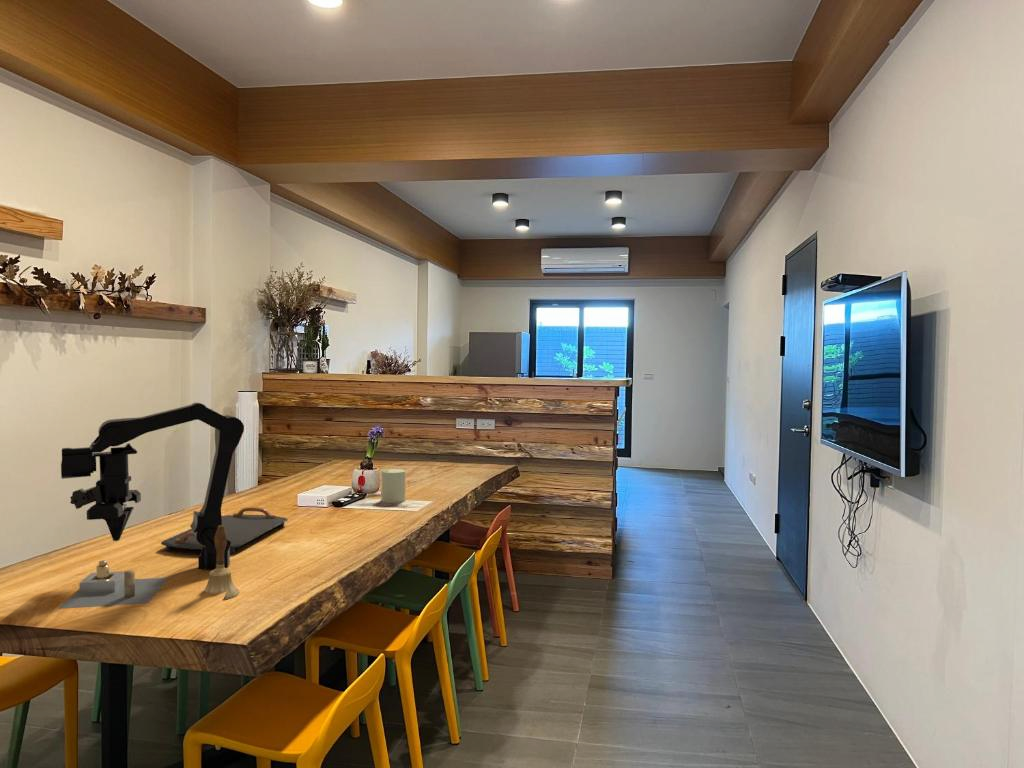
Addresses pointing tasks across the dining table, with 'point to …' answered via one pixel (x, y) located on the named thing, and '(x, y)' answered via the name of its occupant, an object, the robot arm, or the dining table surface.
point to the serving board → (232, 530)
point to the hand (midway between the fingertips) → (116, 540)
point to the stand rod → (129, 583)
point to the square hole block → (101, 583)
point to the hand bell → (221, 569)
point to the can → (393, 485)
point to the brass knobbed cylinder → (103, 570)
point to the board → (117, 595)
